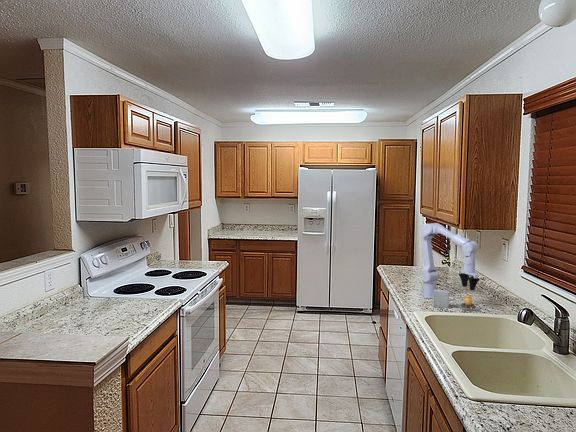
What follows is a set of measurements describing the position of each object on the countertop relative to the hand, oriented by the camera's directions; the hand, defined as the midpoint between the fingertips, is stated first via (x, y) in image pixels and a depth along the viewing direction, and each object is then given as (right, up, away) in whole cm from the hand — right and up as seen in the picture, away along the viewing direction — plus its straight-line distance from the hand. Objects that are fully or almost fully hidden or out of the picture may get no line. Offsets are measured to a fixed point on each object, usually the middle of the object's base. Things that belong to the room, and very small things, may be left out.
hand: (468, 288), depth 212 cm
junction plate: (-1, -10, -1) cm, 10 cm away
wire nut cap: (-1, -10, -1) cm, 10 cm away
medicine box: (-15, -10, +2) cm, 18 cm away
